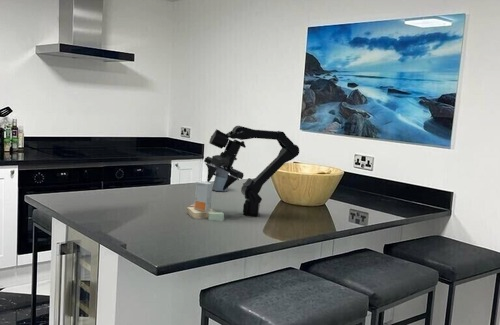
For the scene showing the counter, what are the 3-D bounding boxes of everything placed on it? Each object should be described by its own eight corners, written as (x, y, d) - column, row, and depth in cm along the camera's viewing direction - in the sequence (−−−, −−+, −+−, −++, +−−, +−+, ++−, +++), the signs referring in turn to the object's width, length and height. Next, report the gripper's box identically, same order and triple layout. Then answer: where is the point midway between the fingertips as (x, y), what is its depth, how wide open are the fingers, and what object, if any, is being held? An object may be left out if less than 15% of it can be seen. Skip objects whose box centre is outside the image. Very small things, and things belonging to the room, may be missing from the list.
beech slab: (208, 212, 216) (209, 207, 216) (216, 218, 207) (216, 212, 207) (186, 212, 212) (187, 207, 212) (193, 218, 203) (194, 212, 203)
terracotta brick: (195, 209, 221) (195, 203, 220) (201, 210, 220) (201, 204, 219) (189, 212, 215) (189, 205, 214) (195, 213, 214) (195, 206, 214)
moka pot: (234, 190, 274) (237, 155, 272) (218, 193, 261) (221, 156, 259) (220, 187, 279) (223, 153, 277) (204, 190, 266) (207, 154, 264)
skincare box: (193, 209, 209) (195, 181, 207) (199, 207, 213) (201, 180, 211) (205, 211, 206) (207, 183, 205) (211, 210, 210) (213, 182, 209)
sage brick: (222, 219, 207) (222, 212, 207) (223, 221, 204) (223, 214, 204) (208, 219, 206) (208, 212, 205) (209, 220, 203) (209, 213, 202)
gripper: (204, 141, 211) (189, 174, 211) (237, 156, 201) (221, 191, 201) (218, 147, 220) (204, 178, 220) (250, 162, 210) (235, 195, 211)
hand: (215, 185), depth 213 cm, fingers open, 9 cm apart
